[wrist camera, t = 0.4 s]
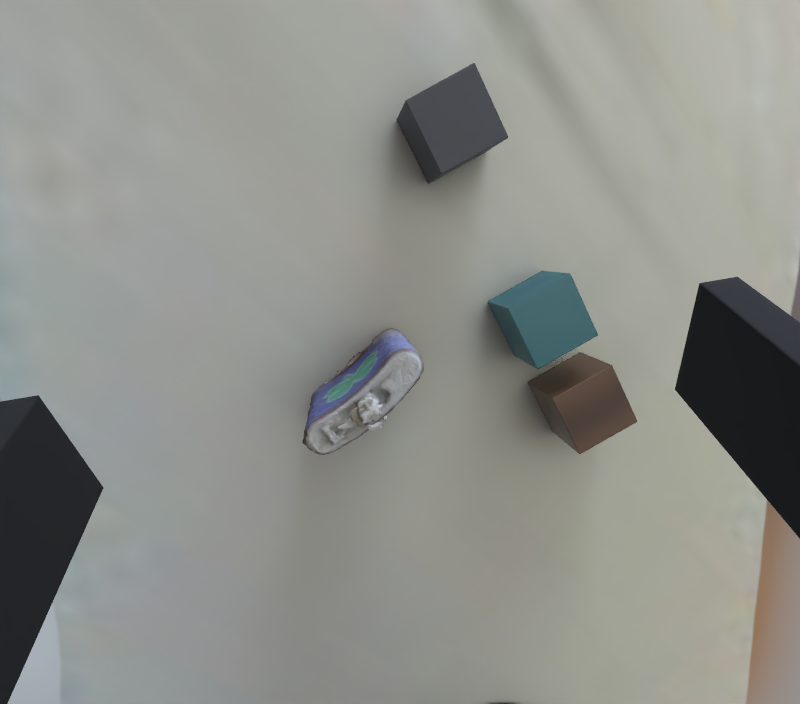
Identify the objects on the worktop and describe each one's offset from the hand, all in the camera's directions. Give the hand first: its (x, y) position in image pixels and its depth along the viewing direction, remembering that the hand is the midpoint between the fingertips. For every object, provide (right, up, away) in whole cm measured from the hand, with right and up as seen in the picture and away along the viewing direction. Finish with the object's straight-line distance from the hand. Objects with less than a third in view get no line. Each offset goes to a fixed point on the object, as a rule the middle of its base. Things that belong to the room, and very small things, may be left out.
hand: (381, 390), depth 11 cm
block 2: (+11, +4, +31) cm, 33 cm away
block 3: (+14, -3, +33) cm, 36 cm away
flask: (-3, -1, +30) cm, 31 cm away
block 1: (+3, +17, +28) cm, 32 cm away
